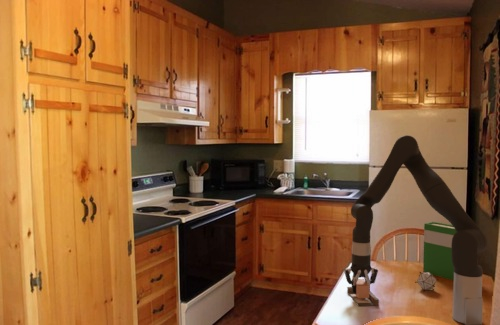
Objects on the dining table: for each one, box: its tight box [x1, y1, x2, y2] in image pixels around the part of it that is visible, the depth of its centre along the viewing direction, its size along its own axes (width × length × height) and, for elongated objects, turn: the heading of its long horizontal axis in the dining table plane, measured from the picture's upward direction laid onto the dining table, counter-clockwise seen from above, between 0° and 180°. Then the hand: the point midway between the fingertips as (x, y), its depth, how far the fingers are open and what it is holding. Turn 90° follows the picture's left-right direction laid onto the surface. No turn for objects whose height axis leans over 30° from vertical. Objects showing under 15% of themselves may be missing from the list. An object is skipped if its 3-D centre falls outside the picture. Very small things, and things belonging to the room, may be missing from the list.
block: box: [355, 278, 369, 298], centre depth 175 cm, size 4×8×5 cm, turn 2°
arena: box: [346, 286, 380, 307], centre depth 176 cm, size 15×8×2 cm, turn 4°
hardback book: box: [422, 221, 457, 281], centre depth 204 cm, size 18×7×24 cm, turn 36°
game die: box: [414, 271, 439, 292], centre depth 185 cm, size 9×8×10 cm
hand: (360, 293), depth 175 cm, fingers closed on block, 4 cm apart
